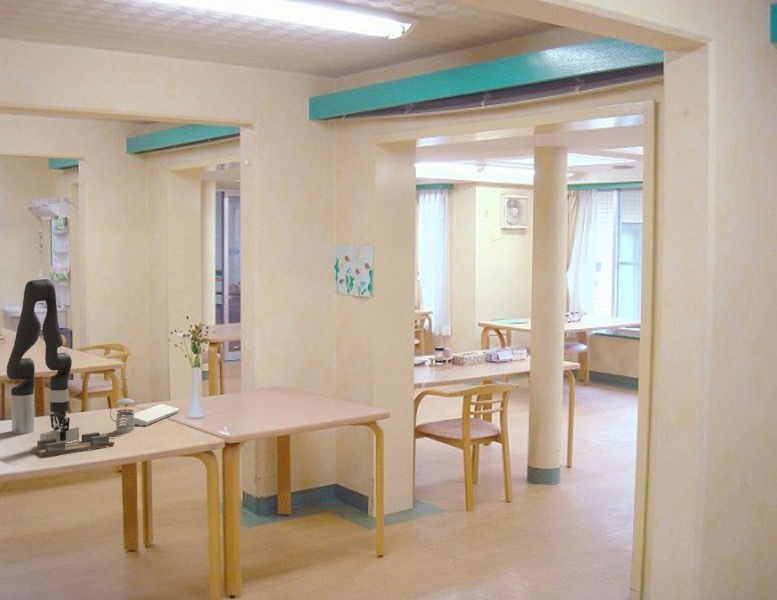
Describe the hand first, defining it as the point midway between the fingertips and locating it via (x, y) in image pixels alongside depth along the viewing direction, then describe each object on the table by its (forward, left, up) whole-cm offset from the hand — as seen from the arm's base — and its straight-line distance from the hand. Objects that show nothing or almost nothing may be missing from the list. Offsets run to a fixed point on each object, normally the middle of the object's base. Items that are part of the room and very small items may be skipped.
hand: (60, 439), depth 378 cm
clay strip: (0, 0, -2) cm, 2 cm away
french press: (-5, +32, -2) cm, 32 cm away
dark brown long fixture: (+13, 0, -2) cm, 13 cm away
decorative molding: (-16, +59, -2) cm, 61 cm away
